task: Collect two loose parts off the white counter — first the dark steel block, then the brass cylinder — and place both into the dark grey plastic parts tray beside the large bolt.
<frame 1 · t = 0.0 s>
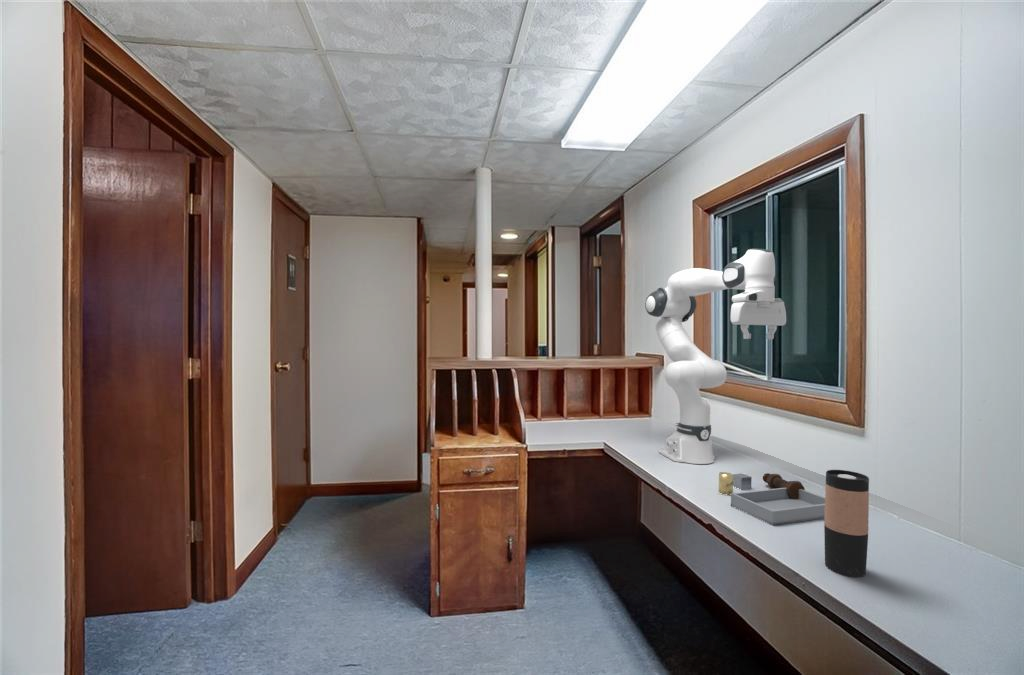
hand: (758, 339, 160), 48 cm above the table, tool pointing down, fingers open, 8 cm apart
travel mug: (844, 569, 102), on the table
brass cylinder: (725, 493, 150), on the table
bolt: (781, 491, 151), on the table, touching parts tray
parts tray: (784, 510, 136), on the table
steel block: (741, 488, 156), on the table
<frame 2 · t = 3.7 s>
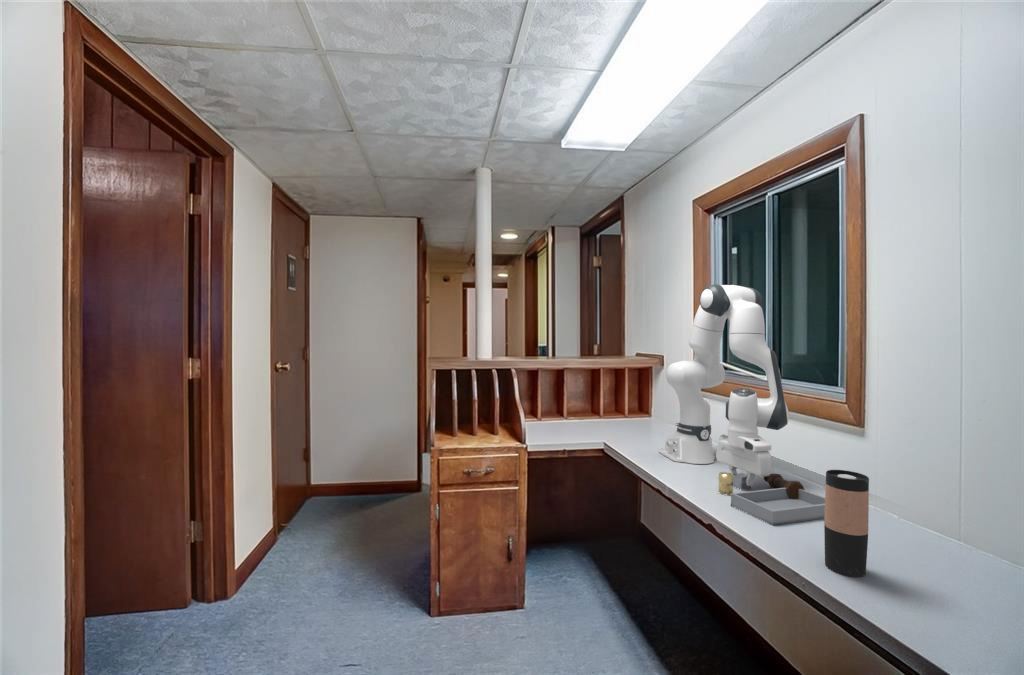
hand: (741, 482, 156), 2 cm above the table, tool pointing down, fingers closed on steel block, 4 cm apart
steel block: (741, 487, 156), on the table, touching gripper
everything else where it was.
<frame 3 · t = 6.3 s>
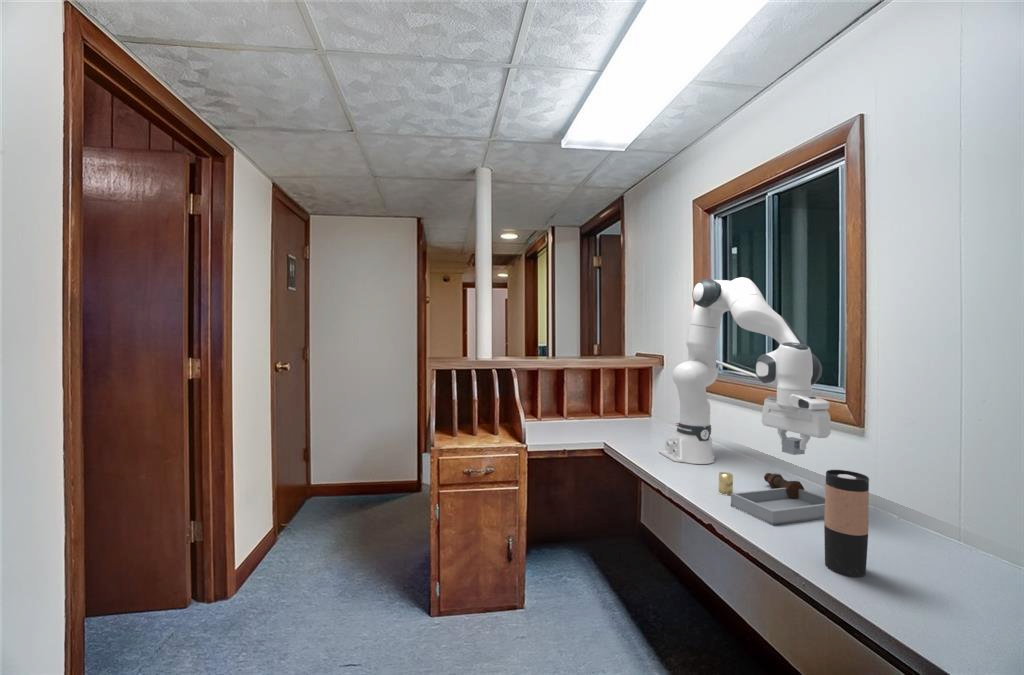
hand: (793, 447, 139), 17 cm above the table, tool pointing down, fingers closed on steel block, 4 cm apart
steel block: (793, 452, 139), point 16 cm above the table, touching gripper
everything else where it was.
when the fingers open (4 cm above the table, at t = 9.0 s): steel block drops 2 cm, resting on parts tray.
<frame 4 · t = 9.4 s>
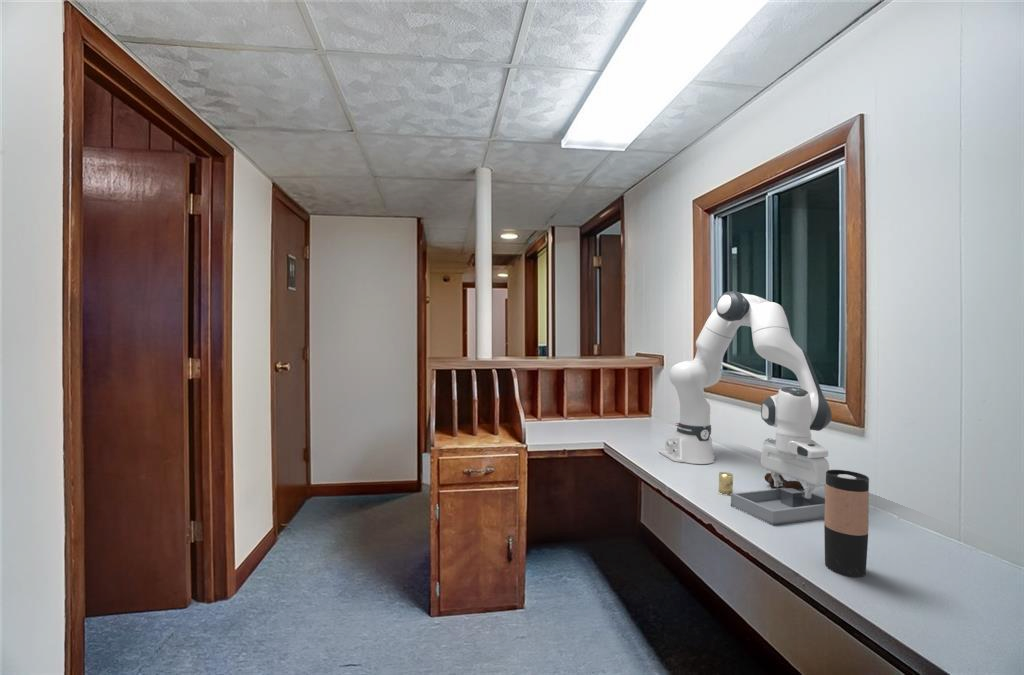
hand: (792, 492, 139), 4 cm above the table, tool pointing down, fingers open, 8 cm apart
steel block: (791, 504, 139), point 1 cm above the table, touching parts tray
everything else where it was.
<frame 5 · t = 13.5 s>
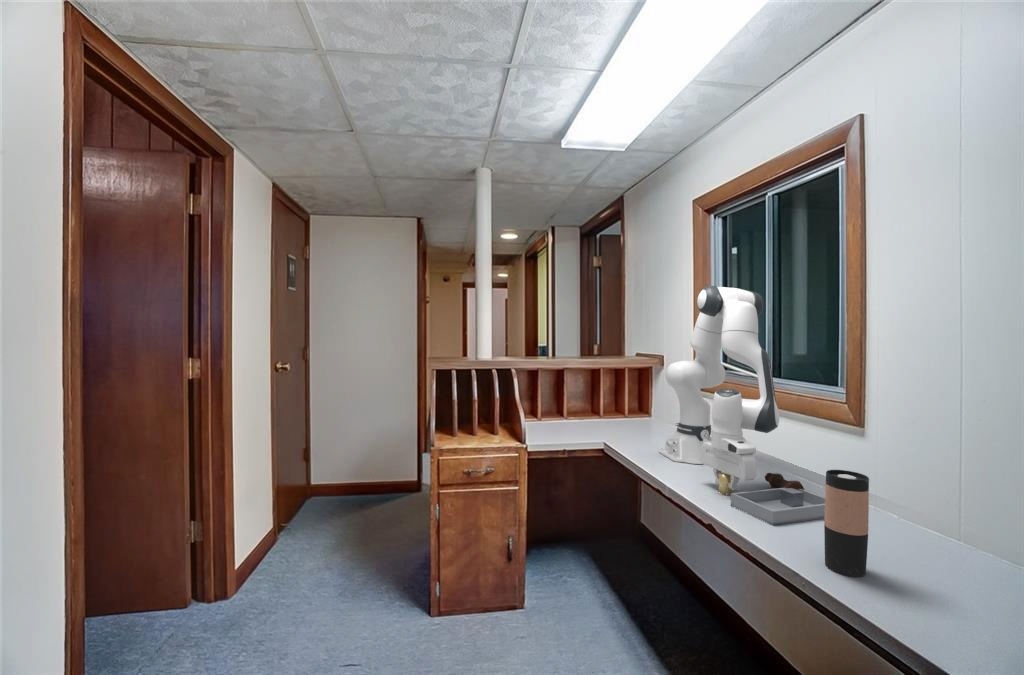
hand: (725, 486, 150), 2 cm above the table, tool pointing down, fingers closed on brass cylinder, 4 cm apart
brass cylinder: (725, 493, 150), on the table, touching gripper
everything else where it was.
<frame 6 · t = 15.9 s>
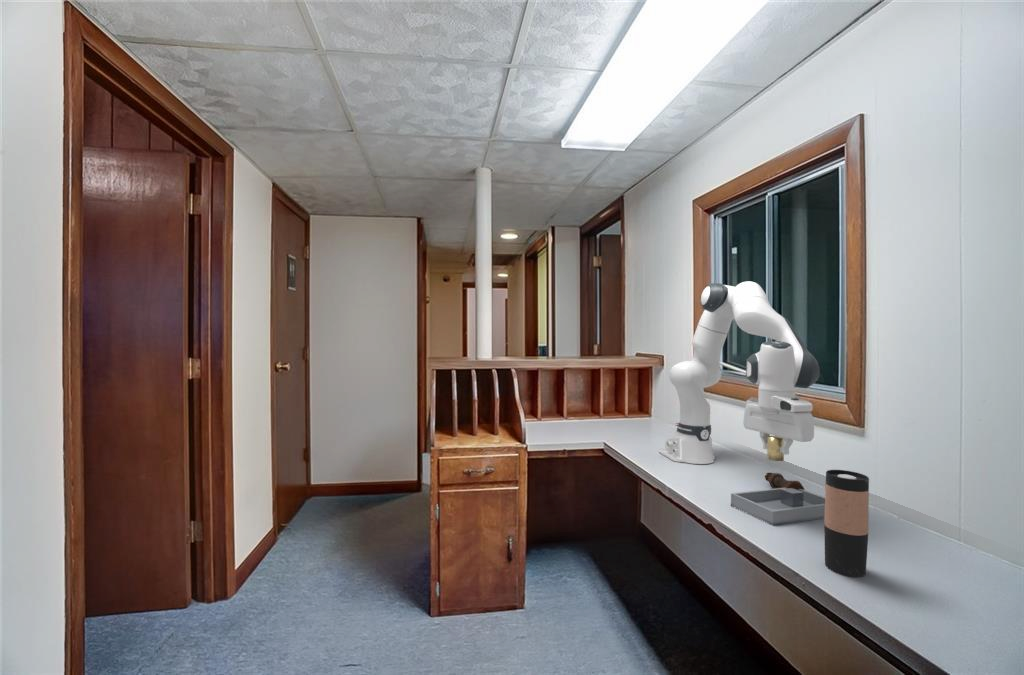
hand: (775, 451, 132), 18 cm above the table, tool pointing down, fingers closed on brass cylinder, 4 cm apart
brass cylinder: (775, 459, 132), point 15 cm above the table, touching gripper
everything else where it was.
when the fingers open (5 cm above the table, at t = 18.6 s): brass cylinder drops 2 cm, resting on parts tray.
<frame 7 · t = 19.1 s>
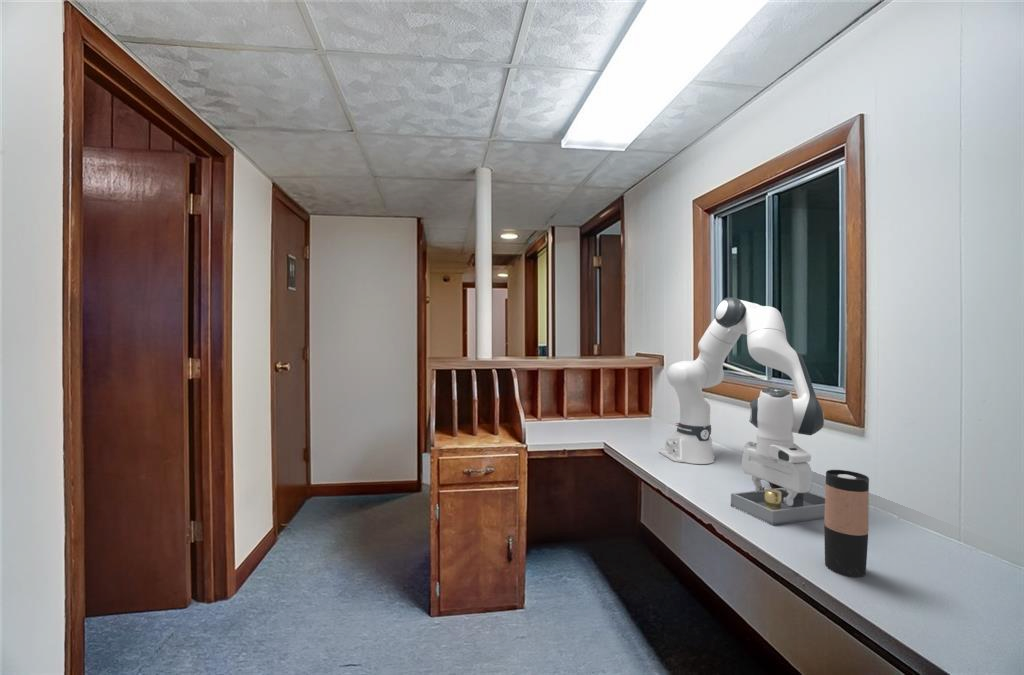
hand: (773, 498, 132), 5 cm above the table, tool pointing down, fingers open, 8 cm apart
brass cylinder: (772, 513, 132), point 1 cm above the table, touching parts tray
everything else where it was.
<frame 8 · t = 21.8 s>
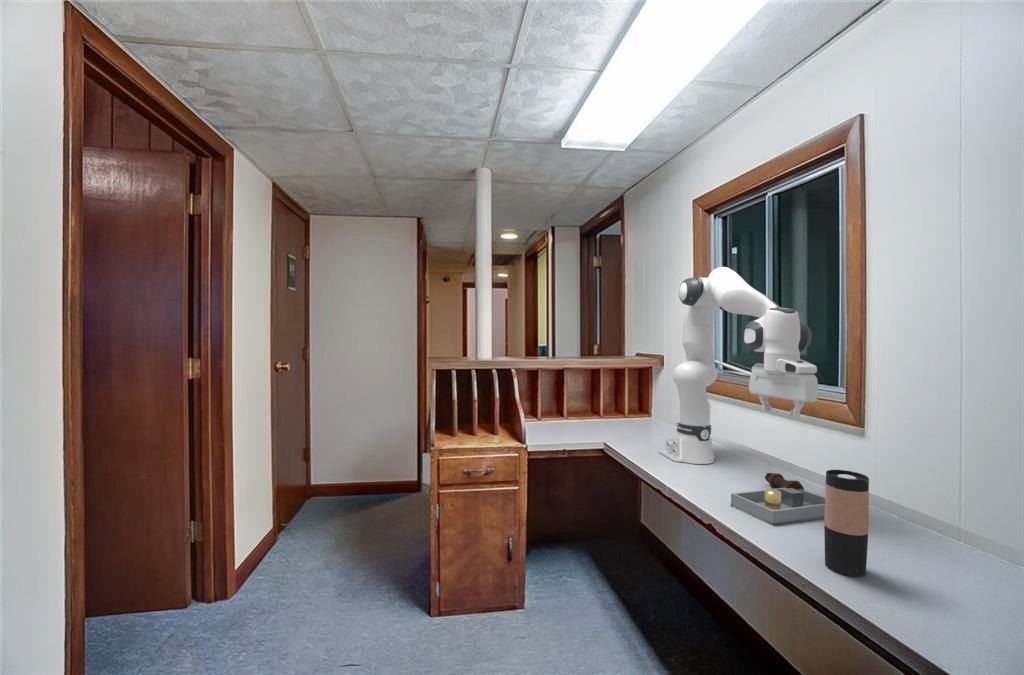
hand: (780, 414, 136), 27 cm above the table, tool pointing down, fingers open, 8 cm apart
nothing on the table moved.
at the end: steel block inside the target area on the parts tray (5.4 cm from its centre), point 0.6 cm above the parts tray's base; brass cylinder inside the target area on the parts tray (6.4 cm from its centre), point 0.6 cm above the parts tray's base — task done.
